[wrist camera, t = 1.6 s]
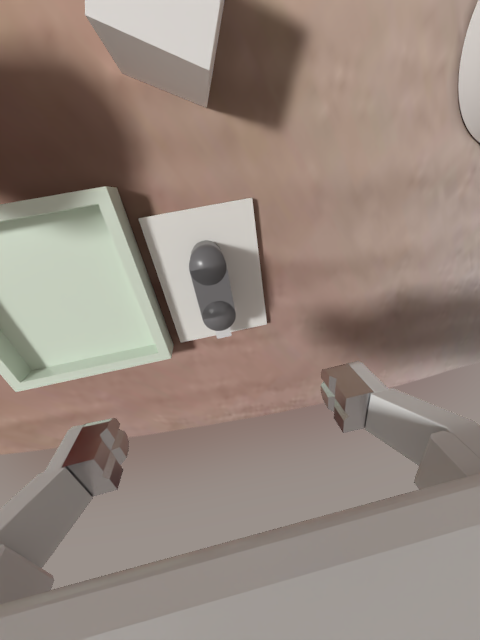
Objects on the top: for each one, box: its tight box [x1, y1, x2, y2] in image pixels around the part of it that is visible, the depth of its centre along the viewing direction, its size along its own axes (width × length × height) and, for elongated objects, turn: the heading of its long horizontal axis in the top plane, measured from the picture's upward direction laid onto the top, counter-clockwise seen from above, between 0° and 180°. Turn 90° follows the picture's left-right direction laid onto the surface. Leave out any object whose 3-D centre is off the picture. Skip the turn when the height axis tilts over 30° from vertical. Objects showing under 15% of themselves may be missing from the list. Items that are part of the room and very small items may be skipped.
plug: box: [189, 240, 236, 339], centre depth 22 cm, size 9×3×4 cm, turn 9°
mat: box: [138, 198, 267, 343], centre depth 23 cm, size 10×13×1 cm
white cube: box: [85, 0, 225, 108], centre depth 13 cm, size 6×6×6 cm
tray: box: [0, 186, 174, 392], centre depth 21 cm, size 16×16×2 cm
